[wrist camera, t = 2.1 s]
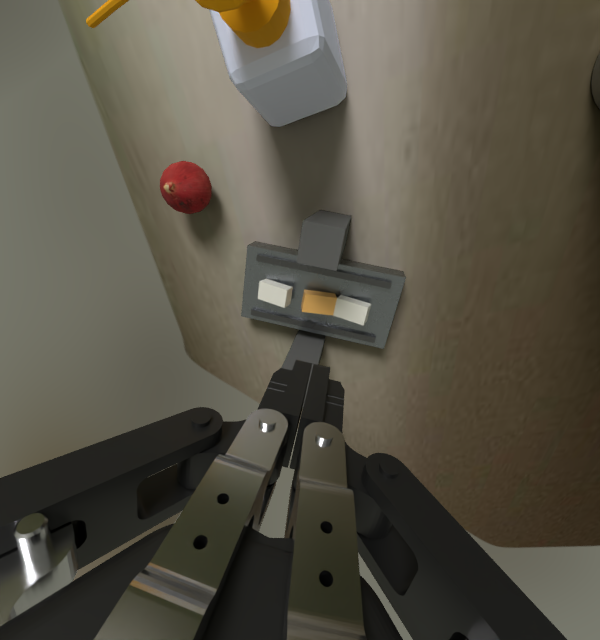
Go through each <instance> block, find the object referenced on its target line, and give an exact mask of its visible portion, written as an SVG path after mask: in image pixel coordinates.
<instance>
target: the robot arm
mask: <svg viewBox="0 0 600 640" xmlns="http://www.w3.org/2000/svg"><path fill="white" fill-rule="evenodd" d="M591 85H592V94H593V97H594V100H595V103H596V105H597V106H598V107H599V109H600V54H599V55H598V57H597V60H596V63H595V66H594V69H593V74H592V81H591ZM311 367H312V363H309V362H304V361H300V360H296V361H295V363H294V366H293V369H292V370H288V369H284V368H280V369H279V370H278V371H276V372H275V373H274V374H273V376H272V378H271V380H270V383H269V385H268V387H267V389H266V392H265V394H264V396H263V398H262V401H261V403H260V405H259V407H258V410H256V411H254V412H252V413H251V414H250V415H249V416H248V418H247V419H246V420H243V421H238V422H223V420H222V416H221V415H220V414H219V413H218V412H217V411H215V410H213V409H210V408H204V407H200V408H193V409H190V410H188V411H185V412H182V413H179V414H176V415H174V416H171V417H168V418H165V419H163V420H160V421H157V422H154V423H151V424H149V425H146V426H143V427H140V428H138V429H135V430H132V431H129V432H127V433H124V434H121V435H118V436H115V437H113V438H110V439H107V440H105V441H102V442H99V443H96V444H93V445H90V446H88V447H85V448H82V449H79V450H77V451H74V452H71V453H68V454H66V455H63V456H60V457H57V458H54V459H52V460H49V461H46V462H44V463H41V464H38V465H35V466H33V467H30V468H27V469H24V470H22V471H19V472H16V473H13V474H11V475H7V476H5V477H2V478H0V640H403V639H402V637H401V636H400V634H399V632H398V630H397V629H396V627H395V625H394V624H393V622H392V620H391V618H390V617H389V615H388V613H387V611H386V610H385V608H384V606H383V604H382V603H381V601H380V599H379V598H378V596H377V595H376V593H375V592H374V591H373V589H372V588H371V587H370V585H369V584H368V583H367V582H366V581H365V580H364V578H362V577H361V576H360V572H359V559H358V552H359V554H360V556H361V557H362V559H363V560H364V562H365V563H366V565H367V567H368V568H369V570H370V571H371V573H372V575H373V576H374V578H375V579H376V581H377V583H378V584H379V586H380V587H381V589H382V591H383V592H384V594H385V595H386V597H387V599H388V600H389V602H390V603H391V605H392V607H393V608H394V610H395V611H396V613H397V614H398V616H399V618H400V619H401V621H402V623H403V624H404V626H405V627H406V629H407V630H408V632H409V634H410V635H411V637H412V639H413V640H567V639H566V638H565V637H564V636H563V635H562V633H561V632H560V631H559V630H558V629H557V628H556V627H555V626H554V625H553V624H552V623H551V622H550V621H549V620H548V619H547V617H546V616H545V615H544V614H543V613H542V612H541V611H540V610H539V609H538V608H537V607H536V606H535V605H534V603H533V602H532V601H531V600H530V599H529V598H528V597H527V596H526V595H525V594H524V593H523V592H522V591H521V590H520V588H519V587H518V586H517V585H516V584H515V583H514V582H513V581H512V580H511V579H510V578H509V577H508V576H507V574H505V572H504V571H503V570H502V569H501V568H500V567H499V566H498V565H497V564H496V563H495V562H494V561H493V559H491V557H490V556H489V555H488V554H487V553H486V552H485V551H484V550H483V549H482V548H481V547H480V546H479V545H478V543H477V542H476V541H475V540H474V539H473V538H472V537H471V536H470V535H469V534H468V533H467V532H466V531H465V529H464V528H463V527H462V526H461V525H460V524H459V523H458V522H457V521H456V520H455V519H454V518H453V517H452V516H451V514H450V513H449V512H448V511H447V510H446V509H445V508H444V507H443V506H442V505H441V504H440V503H439V502H438V501H437V499H436V498H435V497H434V496H433V495H432V494H431V493H430V492H429V491H428V490H427V489H426V488H425V487H424V486H423V484H422V483H421V482H420V481H419V480H418V479H417V478H416V477H415V476H414V475H413V474H412V473H411V472H410V470H409V469H408V468H407V467H406V466H405V465H404V464H403V463H402V462H401V461H399V460H398V459H397V458H395V457H393V456H391V455H388V454H384V453H375V454H372V455H370V456H369V457H368V458H366V457H364V456H362V455H360V454H358V453H357V452H355V451H354V450H352V449H351V448H350V447H349V446H348V445H347V444H346V442H345V440H344V436H343V434H342V424H343V406H344V388H343V387H342V385H341V383H340V382H338V381H334V380H330V379H329V373H330V367H326V366H321V365H317V364H314V365H313V369H312V373H311V377H310V381H309V376H310V372H311ZM308 381H309V386H308V390H307V385H308ZM306 390H307V394H306ZM305 394H306V398H305ZM304 399H305V402H304ZM303 403H304V406H303ZM302 407H303V410H302ZM301 411H302V415H301ZM300 416H301V419H300ZM299 420H300V423H299ZM298 424H299V428H298ZM297 428H298V433H297V437H296V442H295V446H294V451H293V455H292V460H291V464H290V468H291V469H295V471H294V476H293V481H292V485H291V489H290V496H289V504H288V512H287V519H286V527H285V535H284V538H269V537H266V536H264V535H263V534H261V533H259V530H260V527H261V524H262V522H263V519H264V516H265V513H266V511H267V508H268V505H269V503H270V500H271V497H272V494H273V492H274V489H275V486H276V482H277V479H278V478H279V476H280V472H281V468H282V466H283V467H288V465H289V460H290V456H291V452H292V448H293V444H294V440H295V436H296V432H297ZM176 463H177V464H176ZM174 464H175V465H174ZM172 465H173V466H172ZM170 466H171V467H170ZM168 467H169V468H168ZM166 468H167V469H166ZM163 469H165V470H163ZM161 470H163V471H161ZM159 471H160V472H159ZM157 472H158V473H157ZM155 473H156V474H155ZM153 474H154V475H153ZM151 475H152V476H151ZM149 476H150V477H149ZM147 477H148V478H147ZM180 511H182V512H181V514H180V515H179V517H178V518H177V520H176V522H175V523H174V524H171V525H168V526H165V527H163V528H161V529H158V530H156V531H154V532H153V533H151V534H149V535H147V536H146V537H144V538H143V539H141V540H139V541H138V542H136V543H134V544H133V545H131V546H129V547H128V548H126V549H125V550H123V551H121V552H120V553H118V554H116V555H115V556H113V557H112V558H110V559H109V560H107V561H105V562H104V563H102V564H100V565H99V566H97V567H95V568H94V569H92V570H91V571H89V572H87V573H86V574H84V575H82V576H81V577H79V578H78V579H76V580H74V581H73V579H74V577H75V575H76V573H77V570H78V569H80V568H82V567H84V566H86V565H88V564H89V563H91V562H93V561H95V560H96V559H98V558H100V557H101V556H103V555H105V554H107V553H109V552H110V551H112V550H114V549H115V548H117V547H119V546H121V545H122V544H124V543H126V542H128V541H129V540H131V539H133V538H135V537H136V536H138V535H140V534H142V533H143V532H145V531H147V530H149V529H151V528H152V527H154V526H156V525H158V524H159V523H161V522H163V521H165V520H166V519H168V518H170V517H172V516H173V515H175V514H177V513H179V512H180ZM72 581H73V582H72Z"/></svg>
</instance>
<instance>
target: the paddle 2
mask: <svg viewBox="0 0 600 640" xmlns="http://www.w3.org/2000/svg"><path fill="white" fill-rule="evenodd" d="M370 307H371V304H370V303H367V302H363V301H360V300H357V299H354V298H350V297H347V296H344V295H340V296H339V297H338V298H337V300H336V305H335V309H334V314H333V316H336V317H339V318H342V319H345V320H348V321H351V322H354V323H357V324H360V325H364V324H365V323H366V322H367V319H368V315H369V311H370Z"/></svg>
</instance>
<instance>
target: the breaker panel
mask: <svg viewBox="0 0 600 640" xmlns="http://www.w3.org/2000/svg"><path fill="white" fill-rule="evenodd" d="M297 256H298V250H295V249H290V248H285V247H281V246H276V245H271V244H266V243H261V242H256V241H255V242H253V243H251V244H249V245H248V246H247V258H246V269H245V280H244V291H243V302H242V313H241V316H243V317H247V318H251V319H256V320H260V321H265V322H269V323H273V324H278V325H282V326H286V327H291V328H295V329H299V330H304V331H308V332H312V333H317V334H321V335H325V336H330V337H334V338H338V339H343V340H347V341H352V342H356V343H360V344H365V345H369V346H373V347H378V348H382V349H384V347H385V344H386V340H387V337H388V334H389V331H390V327H391V324H392V321H393V318H394V314H395V311H396V308H397V305H398V301H399V298H400V295H401V292H402V288H403V285H404V282H405V279H406V277H405V274H404V272H403V271H399V270H394V269H389V268H384V267H379V266H374V265H369V264H364V263H359V262H355V261H350V260H345V259H341V260H340V263H339V266H338V269H337V271H334V270H329V269H324V268H319V267H315V266H310V265H305V264H300V263H296V262H297ZM264 279H269V280H272V281H275V282H279V283H282V284H285V285H288V286H291V287H293V290H292V297H291V303H290V305H288V306H287V307H285V308H283V307H280V306H277V305H274V304H272V303H269V302H266V301H263V300H260V299H258V290H259V281H261V280H264ZM304 290H312V291H320V292H328V293H335V295H336V297H337V298H338V297H339V296H340V295H344V296H347V297H350V298H354V299H357V300H360V301H363V302H367V303H370V304H371V307H370V311H369V315H368V319H367V322H366V323H365V324H364V325H360V324H357V323H354V322H351V321H348V320H345V319H342V318H339V317H336V316H333V315H324V314H316V313H307V312H302V309H301V304H302V299H303V293H304Z"/></svg>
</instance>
